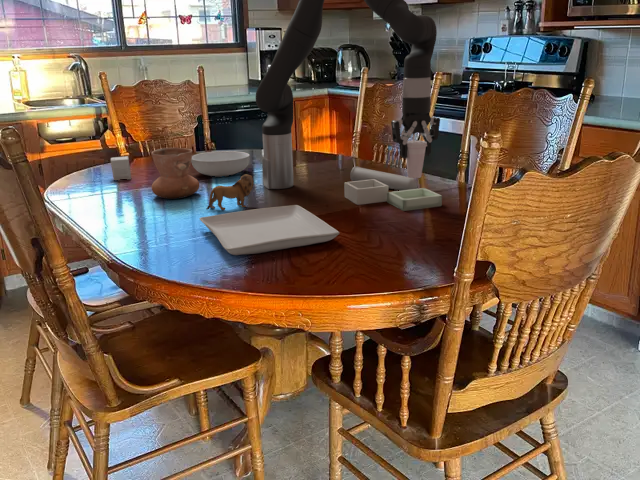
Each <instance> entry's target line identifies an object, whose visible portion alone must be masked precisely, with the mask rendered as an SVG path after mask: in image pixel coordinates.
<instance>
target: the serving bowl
mask: <svg viewBox="0 0 640 480" xmlns="http://www.w3.org/2000/svg"><path fill="white" fill-rule="evenodd" d="M250 156H251V155H250V154H249V153H247V152H243V151H234V150H232V151H231V150H228V151H226V150H223V151H222V150H220V151H219V150H218V151H208V152H201V153H197V154H192V160H191V165H192V167H193V169H195V170H196V172H198V173H200V174H202V175H205V176H210V177H212V176H215V177H214V178H223V177H222V176H225V177H230V176H229V175H231V176H233V175H236V174H239V173H240V172H241V173H242V171H244V170H245V169H246V168H247V167H248V165H249V164H250Z"/></svg>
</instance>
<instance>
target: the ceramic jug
mask: <svg viewBox="0 0 640 480" xmlns="http://www.w3.org/2000/svg"><path fill="white" fill-rule="evenodd" d="M192 156H193V149H192V148H191V149H190V148H185V147H163V148H159V149H155V150H153V151H151V157H152V160H153V164H154V165H155V167H156V170H157V171H158V173H159V174H160V176H159V177H157V179H155V180H154V181H153V182H152V185H151V191H152V194H154V195H156V196H157V197H159V198H162V199H169V200H175V199H176V200H177V198H178V199H184V198H188V197H189V196H192V195H194V194H196V192H198V190H199V189H200V182H199V180H198V179H197V178H195V177H194V176H192V175H190V174H189V170H190V167H191V165H192V162H191V160H192Z"/></svg>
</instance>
